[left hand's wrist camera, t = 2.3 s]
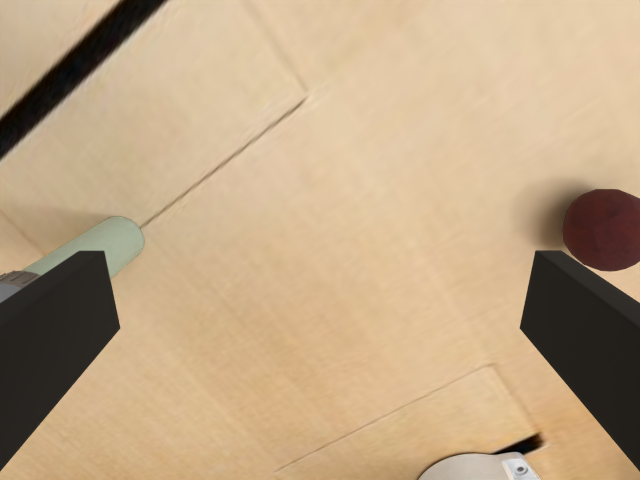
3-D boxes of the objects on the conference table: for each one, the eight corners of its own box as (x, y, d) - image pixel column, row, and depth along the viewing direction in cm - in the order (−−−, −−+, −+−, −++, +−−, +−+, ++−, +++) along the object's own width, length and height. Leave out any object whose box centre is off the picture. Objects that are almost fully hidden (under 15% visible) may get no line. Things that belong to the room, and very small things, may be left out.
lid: (70, 277, 28) (53, 291, 26) (71, 344, 30) (55, 360, 28) (-13, 262, 27) (-36, 275, 26) (-7, 330, 29) (-28, 346, 28)
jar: (145, 221, 41) (51, 292, 27) (143, 262, 43) (52, 350, 28) (98, 212, 41) (-23, 279, 26) (97, 254, 42) (-18, 338, 28)
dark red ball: (564, 264, 43) (608, 297, 36) (535, 206, 40) (577, 229, 34) (632, 228, 41) (691, 255, 34) (606, 165, 39) (664, 181, 32)
